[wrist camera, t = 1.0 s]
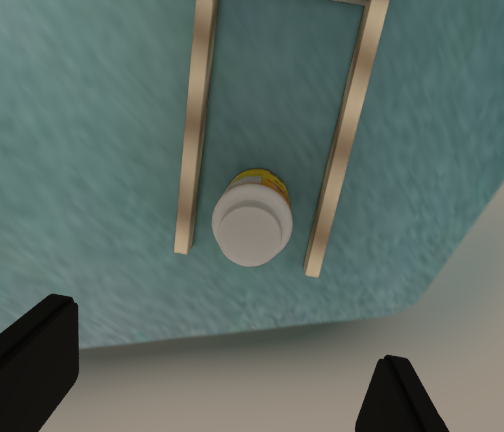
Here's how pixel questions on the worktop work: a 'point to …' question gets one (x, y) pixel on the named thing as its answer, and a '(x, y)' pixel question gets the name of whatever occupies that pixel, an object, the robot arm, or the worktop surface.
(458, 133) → the worktop surface
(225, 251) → the supplement bottle
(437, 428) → the robot arm
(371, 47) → the wooden frame
